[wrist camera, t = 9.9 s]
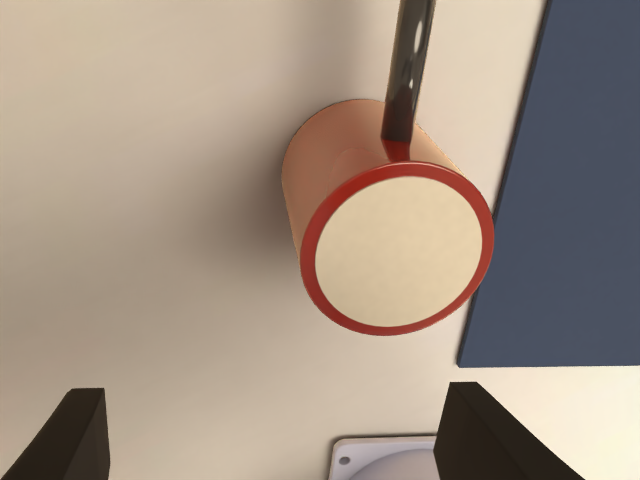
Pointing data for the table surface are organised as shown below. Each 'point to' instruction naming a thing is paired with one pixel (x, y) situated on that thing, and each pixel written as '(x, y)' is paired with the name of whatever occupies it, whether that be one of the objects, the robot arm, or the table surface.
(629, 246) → the cloth
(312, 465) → the table surface
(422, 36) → the pot
